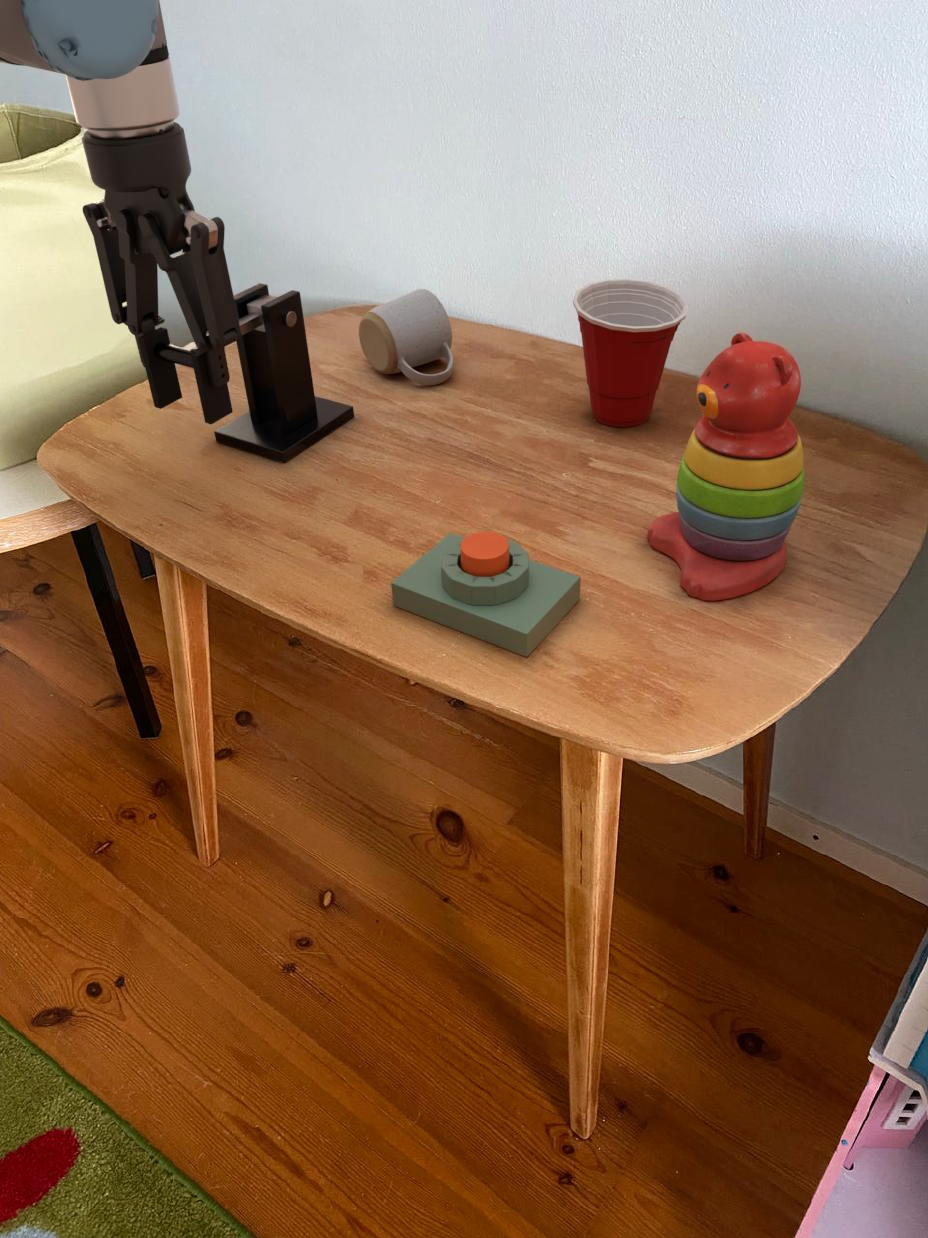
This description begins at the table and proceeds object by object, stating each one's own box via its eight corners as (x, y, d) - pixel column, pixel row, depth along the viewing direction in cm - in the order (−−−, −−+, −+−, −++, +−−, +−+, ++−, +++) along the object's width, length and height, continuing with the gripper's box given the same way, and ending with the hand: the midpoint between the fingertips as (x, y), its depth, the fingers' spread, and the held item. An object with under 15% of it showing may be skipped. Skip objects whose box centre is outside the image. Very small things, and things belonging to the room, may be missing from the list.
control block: (393, 605, 76) (388, 563, 73) (451, 554, 81) (448, 513, 79) (527, 657, 70) (527, 614, 68) (580, 599, 76) (582, 556, 73)
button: (451, 569, 73) (450, 549, 72) (478, 545, 76) (477, 526, 74) (492, 583, 72) (492, 564, 70) (518, 559, 74) (518, 540, 73)
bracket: (284, 463, 94) (260, 323, 86) (215, 441, 98) (186, 306, 90) (354, 416, 101) (339, 283, 93) (287, 398, 105) (266, 268, 97)
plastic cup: (627, 452, 93) (636, 330, 86) (546, 415, 100) (548, 299, 92) (699, 414, 99) (714, 296, 91) (618, 382, 105) (625, 269, 98)
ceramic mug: (357, 365, 111) (350, 298, 106) (415, 345, 115) (411, 279, 110) (413, 397, 104) (408, 328, 100) (472, 374, 108) (471, 306, 103)
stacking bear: (639, 531, 83) (657, 326, 72) (749, 511, 84) (783, 308, 73) (694, 606, 74) (724, 387, 63) (815, 583, 76) (865, 366, 65)
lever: (202, 379, 84) (196, 352, 83) (157, 366, 87) (150, 340, 85) (301, 325, 93) (297, 300, 91) (257, 315, 95) (253, 291, 94)
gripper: (257, 126, 72) (300, 415, 86) (87, 106, 80) (151, 373, 95) (183, 148, 67) (241, 451, 82) (10, 124, 75) (90, 403, 90)
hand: (193, 409), depth 88 cm, fingers closed on lever, 5 cm apart
